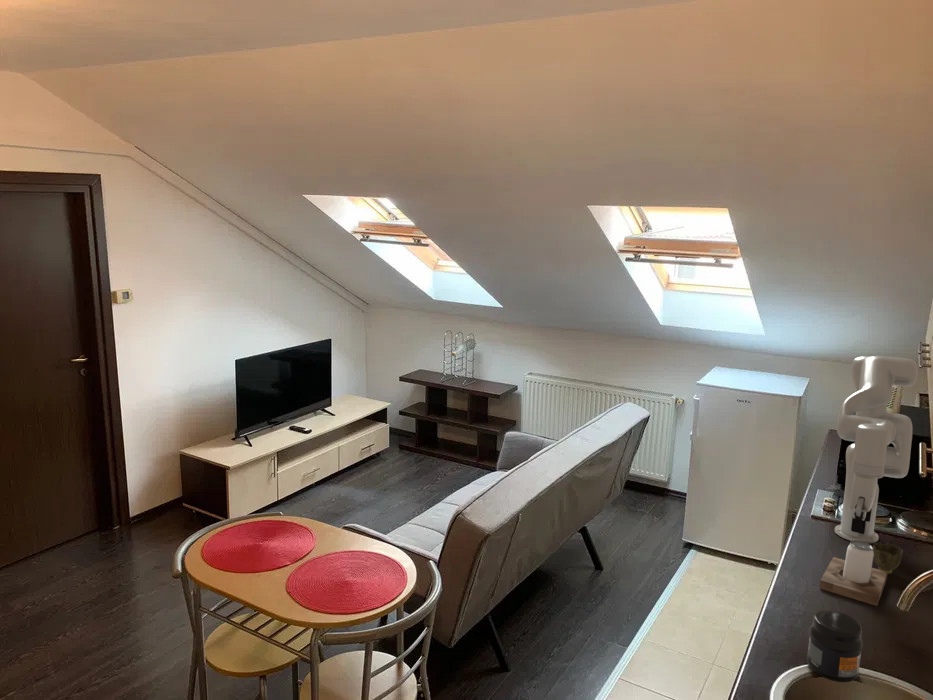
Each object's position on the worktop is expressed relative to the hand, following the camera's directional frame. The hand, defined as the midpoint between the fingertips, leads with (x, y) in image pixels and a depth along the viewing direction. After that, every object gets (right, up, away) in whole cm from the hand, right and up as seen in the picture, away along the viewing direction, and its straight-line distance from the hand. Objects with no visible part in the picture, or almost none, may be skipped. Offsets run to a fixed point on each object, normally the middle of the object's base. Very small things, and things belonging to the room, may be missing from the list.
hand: (860, 526), depth 187 cm
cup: (+13, -16, +10) cm, 23 cm away
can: (0, -17, +2) cm, 17 cm away
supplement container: (-28, -24, -36) cm, 51 cm away
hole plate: (-1, -17, +2) cm, 17 cm away
